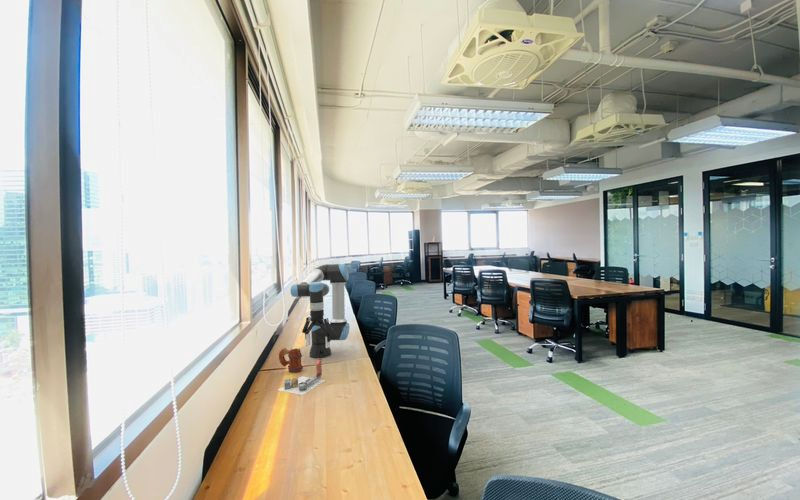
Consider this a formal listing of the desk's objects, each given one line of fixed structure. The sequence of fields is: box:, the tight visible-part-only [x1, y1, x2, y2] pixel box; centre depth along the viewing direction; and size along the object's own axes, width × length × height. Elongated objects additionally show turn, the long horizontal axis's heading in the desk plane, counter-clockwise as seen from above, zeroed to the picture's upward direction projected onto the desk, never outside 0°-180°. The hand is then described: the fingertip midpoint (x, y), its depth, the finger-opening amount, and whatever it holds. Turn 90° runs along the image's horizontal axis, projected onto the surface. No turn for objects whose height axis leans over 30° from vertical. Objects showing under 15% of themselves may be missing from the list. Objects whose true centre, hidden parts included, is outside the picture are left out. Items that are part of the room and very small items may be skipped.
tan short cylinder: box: [291, 378, 298, 388], centre depth 177 cm, size 4×4×4 cm
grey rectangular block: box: [283, 378, 292, 390], centre depth 176 cm, size 5×3×4 cm, turn 17°
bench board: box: [277, 375, 326, 396], centre depth 179 cm, size 19×17×2 cm
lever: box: [299, 358, 323, 390], centre depth 179 cm, size 18×4×10 cm, turn 157°
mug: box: [278, 347, 304, 374], centre depth 200 cm, size 15×8×15 cm, turn 84°
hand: (318, 346), depth 185 cm, fingers open, 13 cm apart
